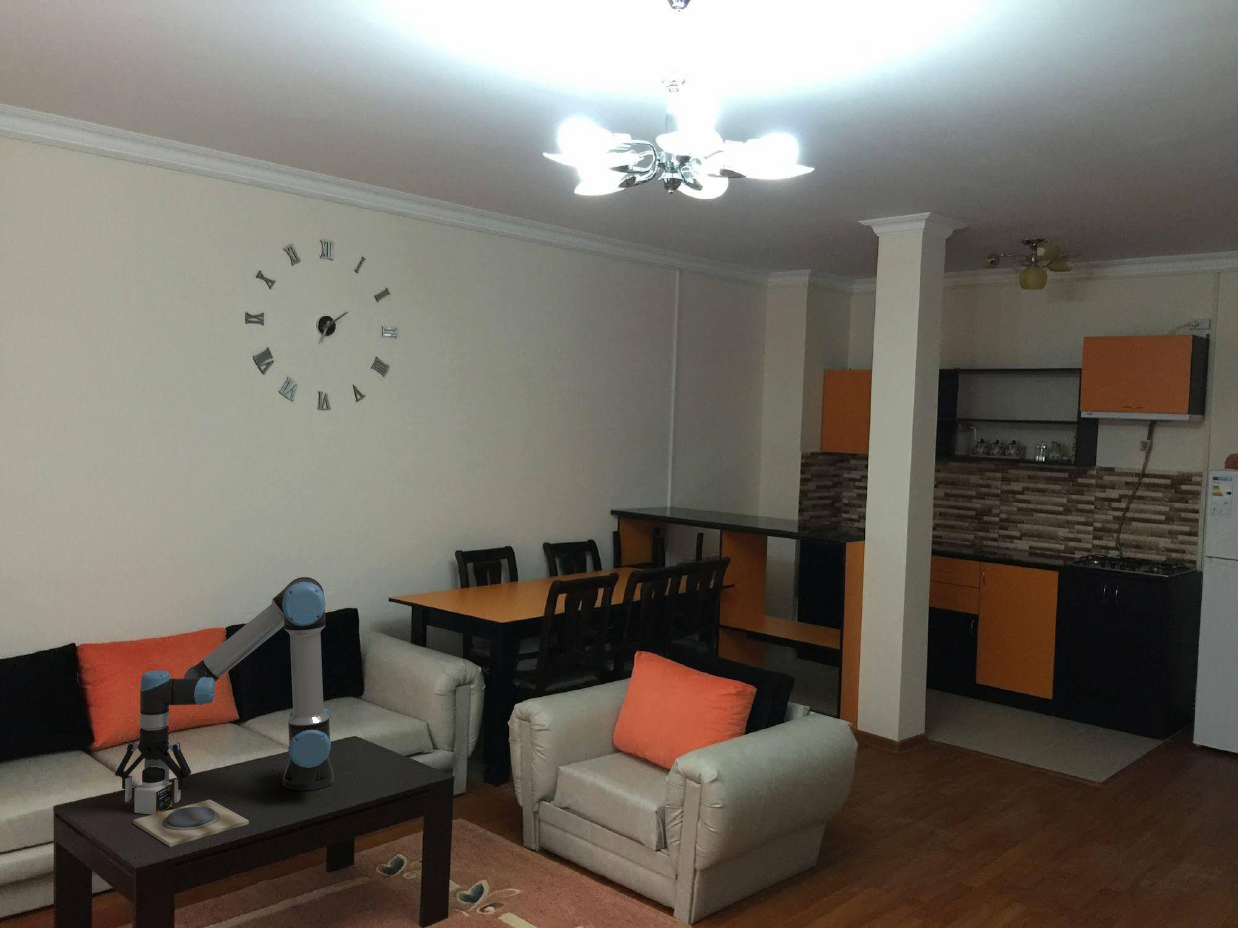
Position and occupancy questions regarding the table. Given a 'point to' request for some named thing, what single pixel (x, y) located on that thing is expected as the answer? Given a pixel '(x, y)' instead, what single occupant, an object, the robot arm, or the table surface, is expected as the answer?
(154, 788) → the medicine bottle
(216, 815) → the square wooden board
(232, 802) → the table surface
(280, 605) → the robot arm
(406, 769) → the table surface
